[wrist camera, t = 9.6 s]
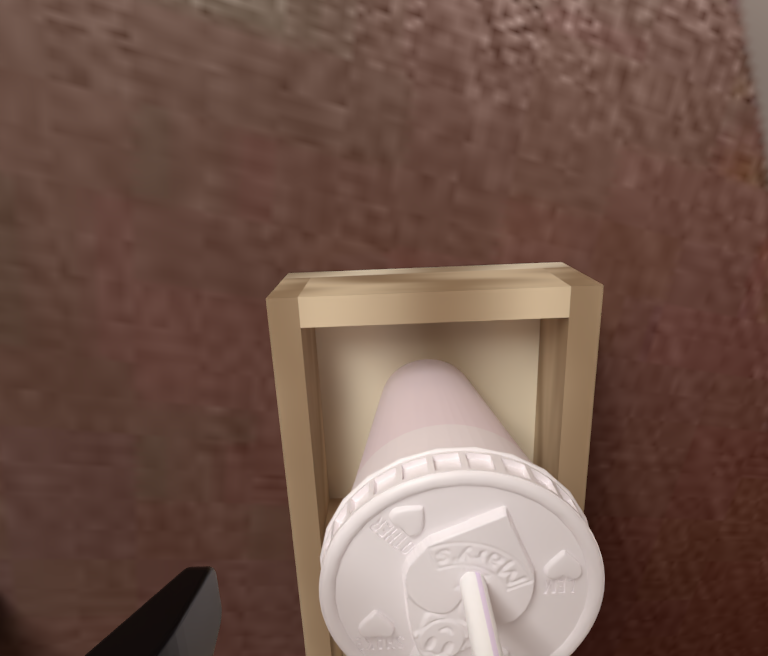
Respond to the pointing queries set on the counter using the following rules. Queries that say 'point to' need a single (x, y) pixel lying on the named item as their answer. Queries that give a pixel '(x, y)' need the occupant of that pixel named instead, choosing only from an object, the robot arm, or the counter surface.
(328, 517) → the tray
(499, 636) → the smoothie
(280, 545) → the counter surface
